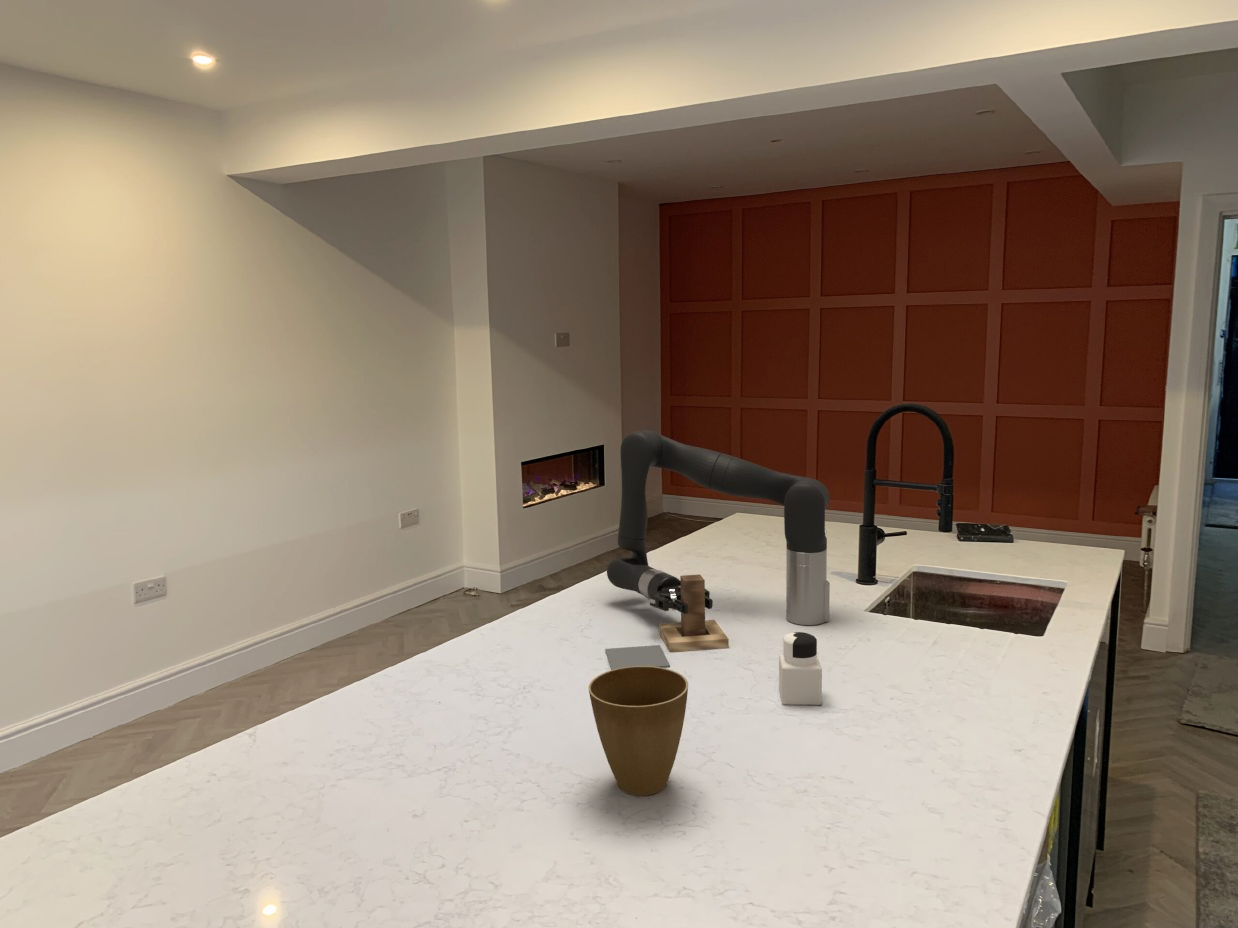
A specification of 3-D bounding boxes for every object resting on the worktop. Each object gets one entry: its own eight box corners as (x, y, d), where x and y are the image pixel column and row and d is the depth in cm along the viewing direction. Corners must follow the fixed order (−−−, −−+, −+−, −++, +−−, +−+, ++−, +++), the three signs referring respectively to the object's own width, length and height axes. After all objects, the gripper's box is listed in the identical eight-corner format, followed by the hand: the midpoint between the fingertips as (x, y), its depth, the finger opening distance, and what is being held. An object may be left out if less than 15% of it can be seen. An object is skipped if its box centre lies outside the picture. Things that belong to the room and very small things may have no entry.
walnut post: (700, 634, 195) (700, 574, 193) (705, 641, 191) (704, 579, 189) (681, 635, 195) (680, 575, 193) (685, 642, 190) (684, 581, 188)
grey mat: (659, 646, 189) (659, 644, 189) (670, 667, 177) (670, 665, 177) (605, 650, 188) (605, 648, 187) (611, 671, 176) (611, 669, 176)
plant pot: (632, 751, 142) (630, 658, 139) (708, 778, 132) (707, 679, 130) (571, 789, 130) (567, 688, 128) (649, 822, 121) (647, 714, 119)
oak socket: (714, 627, 200) (714, 619, 200) (728, 647, 187) (728, 638, 187) (659, 631, 198) (658, 623, 198) (669, 651, 186) (669, 642, 185)
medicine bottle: (816, 689, 164) (817, 628, 163) (821, 705, 157) (822, 642, 156) (778, 689, 165) (778, 628, 163) (782, 704, 158) (782, 642, 156)
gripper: (633, 577, 200) (670, 595, 186) (686, 567, 207) (726, 585, 192) (634, 608, 202) (671, 629, 187) (686, 598, 208) (726, 617, 193)
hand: (698, 606), depth 190 cm, fingers closed on walnut post, 5 cm apart
